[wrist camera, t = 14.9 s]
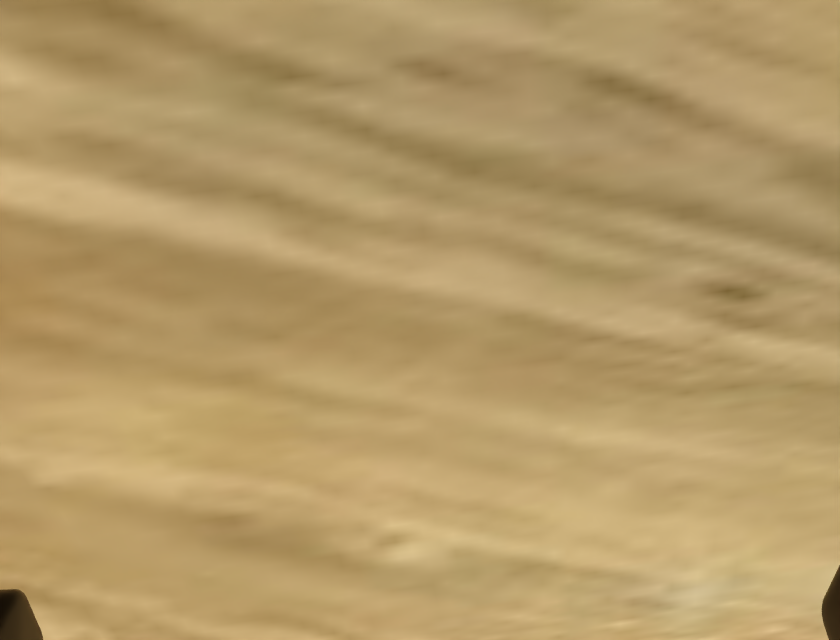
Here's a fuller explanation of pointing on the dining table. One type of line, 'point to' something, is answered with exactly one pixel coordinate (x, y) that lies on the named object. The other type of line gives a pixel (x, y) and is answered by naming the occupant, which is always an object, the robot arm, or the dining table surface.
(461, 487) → the dining table surface
